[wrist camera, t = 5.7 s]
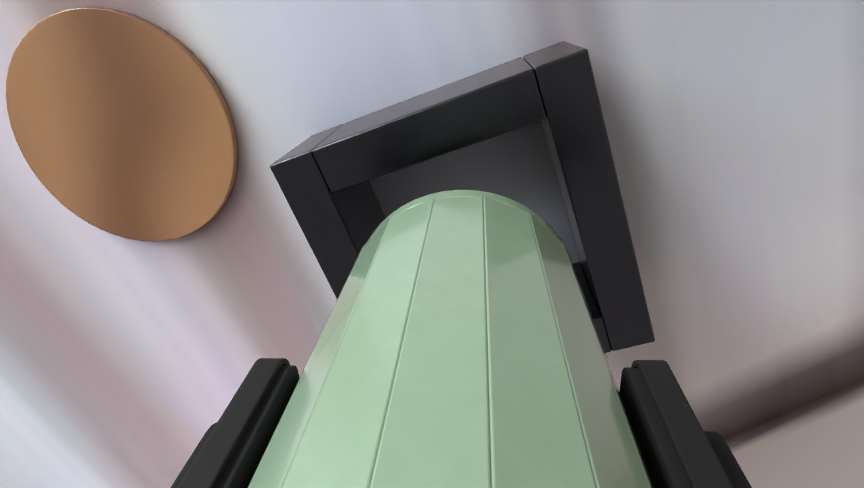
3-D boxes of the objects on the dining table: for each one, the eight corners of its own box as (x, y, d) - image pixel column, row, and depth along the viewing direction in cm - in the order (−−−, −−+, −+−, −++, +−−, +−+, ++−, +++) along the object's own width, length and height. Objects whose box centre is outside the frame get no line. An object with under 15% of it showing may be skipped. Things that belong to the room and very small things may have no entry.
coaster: (64, 240, 24) (57, 243, 24) (-27, 16, 20) (-36, 16, 20) (259, 236, 23) (255, 239, 23) (206, -2, 19) (200, -2, 19)
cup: (370, 375, 16) (240, 819, 7) (343, 192, 14) (88, 547, 5) (567, 376, 16) (686, 865, 7) (580, 184, 13) (809, 579, 4)
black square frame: (404, 338, 25) (389, 403, 21) (310, 135, 21) (268, 165, 17) (623, 281, 23) (655, 341, 18) (563, 40, 19) (587, 48, 14)
